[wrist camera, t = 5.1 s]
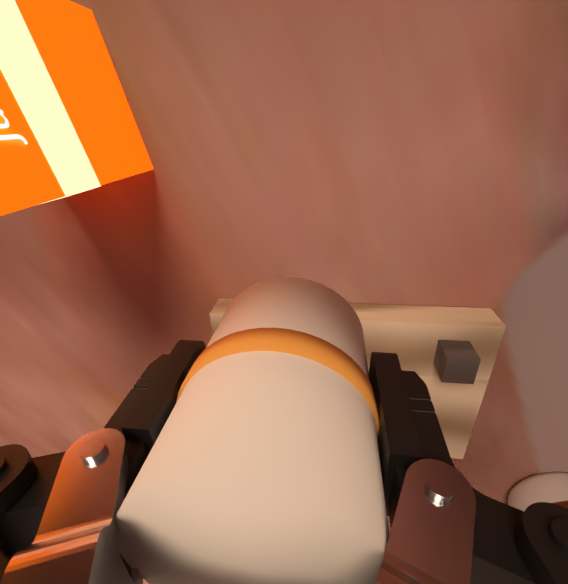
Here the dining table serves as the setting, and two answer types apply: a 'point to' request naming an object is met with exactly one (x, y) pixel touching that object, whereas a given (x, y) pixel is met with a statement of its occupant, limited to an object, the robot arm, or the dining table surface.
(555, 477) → the milk bottle
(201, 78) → the dining table surface
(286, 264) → the dining table surface
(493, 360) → the shelf board
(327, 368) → the orange-banded white cylinder
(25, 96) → the orange juice
